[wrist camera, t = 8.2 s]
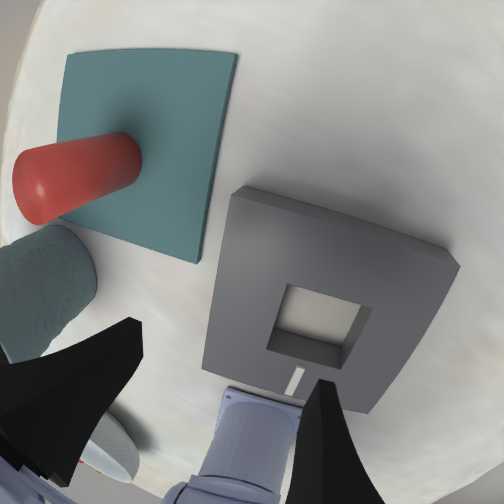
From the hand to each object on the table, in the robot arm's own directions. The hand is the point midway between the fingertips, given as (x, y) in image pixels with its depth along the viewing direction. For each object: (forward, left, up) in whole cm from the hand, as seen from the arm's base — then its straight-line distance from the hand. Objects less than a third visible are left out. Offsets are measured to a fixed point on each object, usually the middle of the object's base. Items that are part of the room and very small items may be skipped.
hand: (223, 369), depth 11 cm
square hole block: (-3, -4, -10) cm, 11 cm away
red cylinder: (+4, +12, -10) cm, 16 cm away
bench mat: (+5, +12, -10) cm, 17 cm away
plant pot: (-7, +19, -11) cm, 23 cm away
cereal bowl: (-35, +18, -11) cm, 41 cm away
